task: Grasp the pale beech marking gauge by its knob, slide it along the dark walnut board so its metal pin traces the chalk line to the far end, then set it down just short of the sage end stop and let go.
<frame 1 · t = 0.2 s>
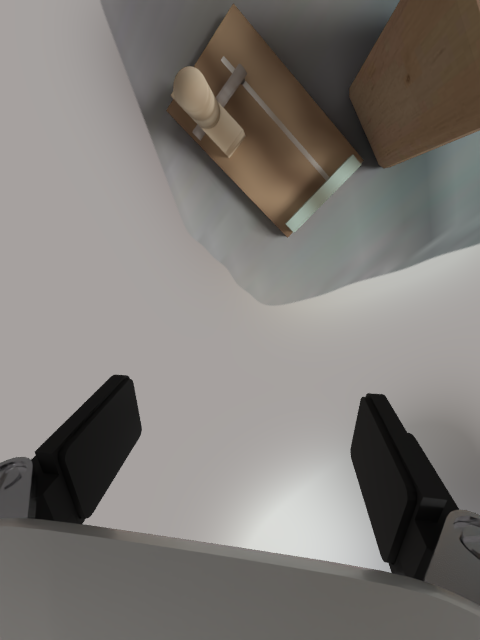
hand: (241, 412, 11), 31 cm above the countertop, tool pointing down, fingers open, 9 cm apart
walnut board: (264, 139, 33), on the countertop
marking gauge: (213, 121, 31), point 2 cm above the countertop, touching walnut board
wooden block: (403, 104, 30), on the countertop
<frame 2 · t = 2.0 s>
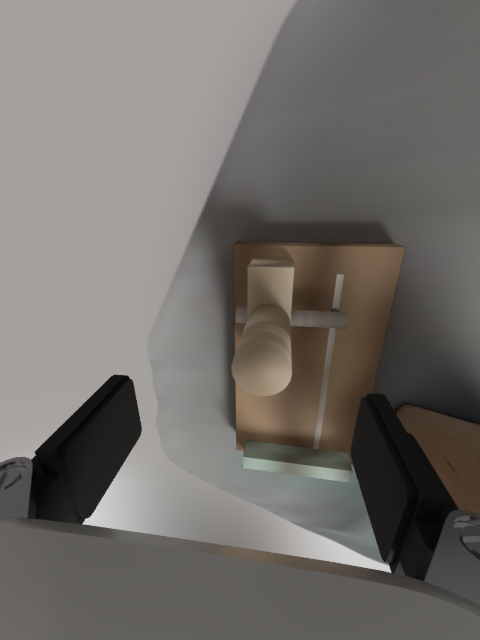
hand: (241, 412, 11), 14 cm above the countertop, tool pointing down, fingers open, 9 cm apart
walnut board: (301, 358, 25), on the countertop
marking gauge: (270, 309, 21), point 2 cm above the countertop, touching walnut board
wooden block: (424, 447, 27), on the countertop
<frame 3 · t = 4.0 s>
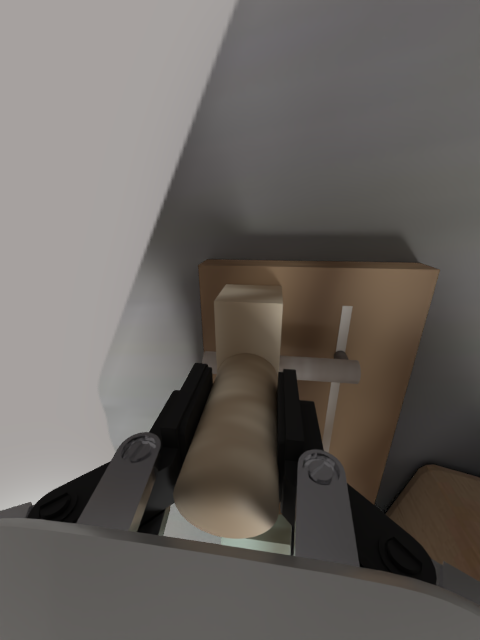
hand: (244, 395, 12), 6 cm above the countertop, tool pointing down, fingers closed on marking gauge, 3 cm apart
walnut board: (295, 406, 19), on the countertop
marking gauge: (252, 350, 16), point 2 cm above the countertop, touching gripper, walnut board
wooden block: (448, 511, 21), on the countertop
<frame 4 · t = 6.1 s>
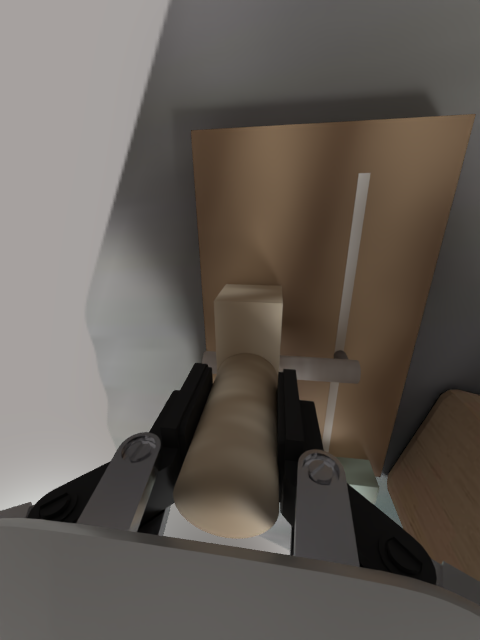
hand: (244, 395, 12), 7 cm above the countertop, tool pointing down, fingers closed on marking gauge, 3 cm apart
walnut board: (302, 325, 17), on the countertop
marking gauge: (252, 350, 16), point 2 cm above the countertop, touching gripper
wooden block: (472, 449, 19), on the countertop
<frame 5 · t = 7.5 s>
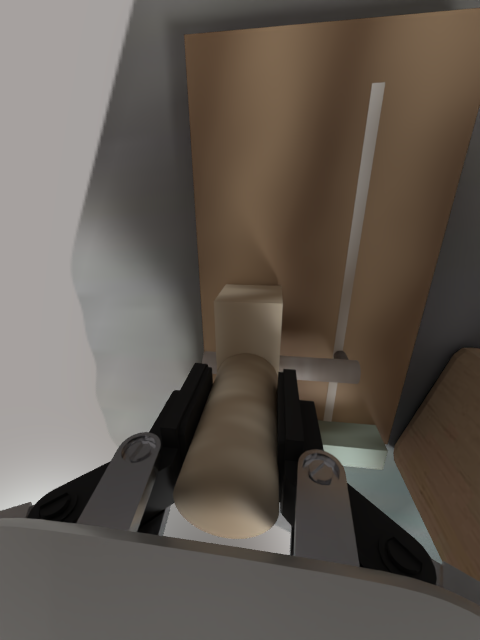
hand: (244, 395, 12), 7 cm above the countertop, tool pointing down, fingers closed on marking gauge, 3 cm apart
walnut board: (305, 277, 16), on the countertop
marking gauge: (252, 350, 16), point 2 cm above the countertop, touching gripper
when the fingers open (6 cm above the countertop, at t = 8.4 s): marking gauge stays where it is, resting on walnut board.
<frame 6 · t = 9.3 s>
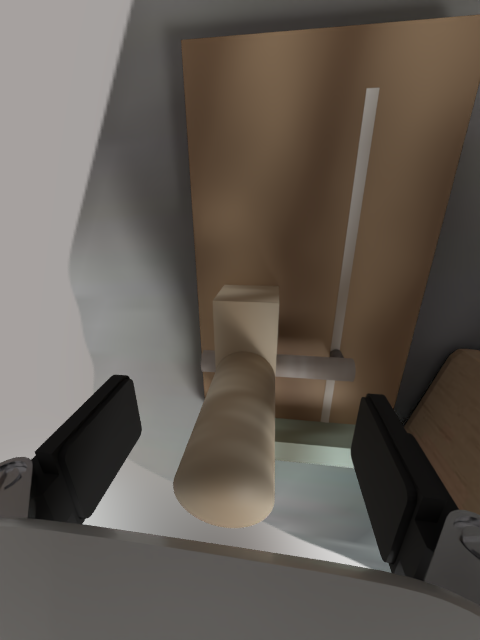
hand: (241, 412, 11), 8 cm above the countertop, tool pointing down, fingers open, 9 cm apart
walnut board: (301, 279, 16), on the countertop
marking gauge: (250, 349, 16), point 2 cm above the countertop, touching walnut board
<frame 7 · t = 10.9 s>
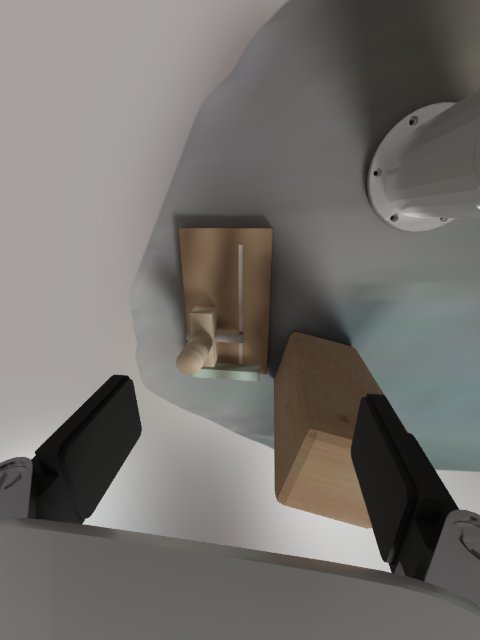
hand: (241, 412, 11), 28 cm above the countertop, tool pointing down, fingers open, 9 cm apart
walnut board: (228, 303, 39), on the countertop
marking gauge: (207, 332, 39), point 2 cm above the countertop, touching walnut board
wooden block: (312, 363, 41), on the countertop
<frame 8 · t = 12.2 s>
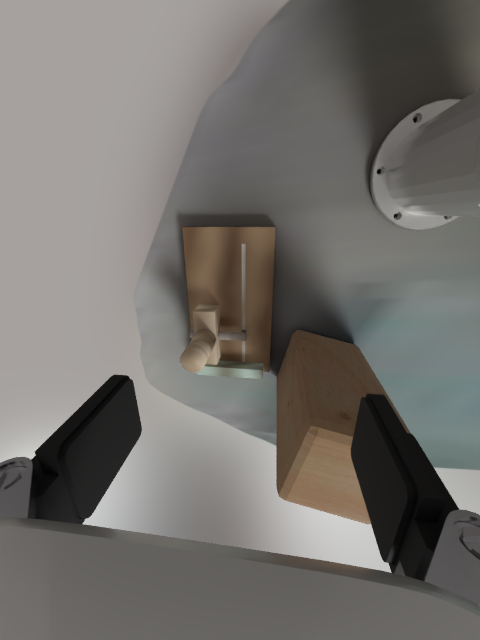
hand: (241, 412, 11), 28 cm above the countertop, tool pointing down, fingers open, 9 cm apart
walnut board: (231, 301, 39), on the countertop
marking gauge: (210, 330, 39), point 2 cm above the countertop, touching walnut board
wooden block: (314, 361, 41), on the countertop
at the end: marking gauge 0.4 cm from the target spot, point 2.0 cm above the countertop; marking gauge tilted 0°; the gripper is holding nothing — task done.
